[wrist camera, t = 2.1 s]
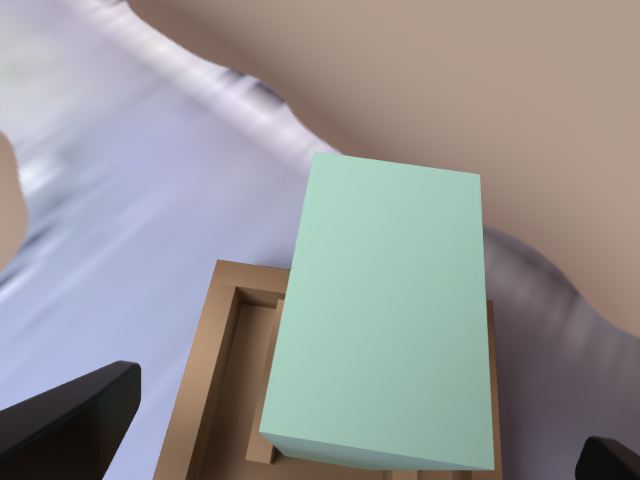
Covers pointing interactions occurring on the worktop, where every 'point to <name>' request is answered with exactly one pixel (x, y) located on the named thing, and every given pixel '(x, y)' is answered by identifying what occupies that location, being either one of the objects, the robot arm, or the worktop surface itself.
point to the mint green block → (384, 322)
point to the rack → (259, 392)
